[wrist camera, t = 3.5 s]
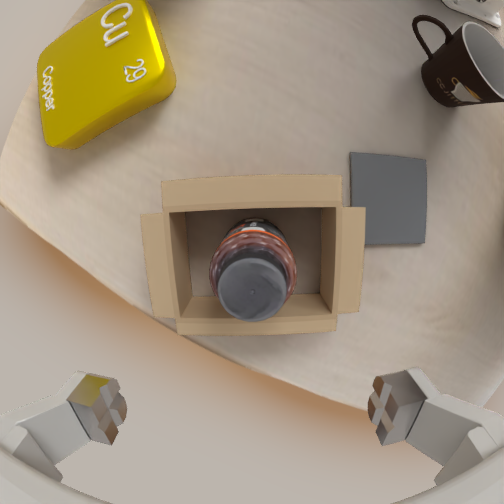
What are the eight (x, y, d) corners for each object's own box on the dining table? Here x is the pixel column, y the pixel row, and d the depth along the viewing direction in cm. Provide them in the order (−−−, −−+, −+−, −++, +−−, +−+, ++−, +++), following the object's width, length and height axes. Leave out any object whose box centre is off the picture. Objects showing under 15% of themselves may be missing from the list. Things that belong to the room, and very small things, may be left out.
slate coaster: (424, 160, 24) (425, 159, 23) (422, 242, 26) (424, 243, 26) (349, 152, 24) (351, 152, 24) (350, 244, 26) (351, 244, 26)
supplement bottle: (239, 206, 26) (225, 220, 15) (296, 233, 26) (324, 265, 15) (214, 262, 27) (186, 312, 16) (269, 287, 27) (276, 350, 16)
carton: (345, 177, 25) (365, 176, 20) (341, 306, 28) (356, 328, 23) (159, 184, 25) (138, 183, 20) (171, 311, 28) (157, 333, 23)
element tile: (54, 63, 22) (33, 53, 17) (152, 4, 20) (139, -16, 16) (68, 156, 25) (42, 153, 20) (182, 93, 23) (168, 76, 19)
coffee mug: (474, 99, 21) (525, 84, 12) (445, 128, 23) (504, 115, 13) (419, 26, 20) (459, -8, 10) (382, 47, 21) (424, 5, 11)
